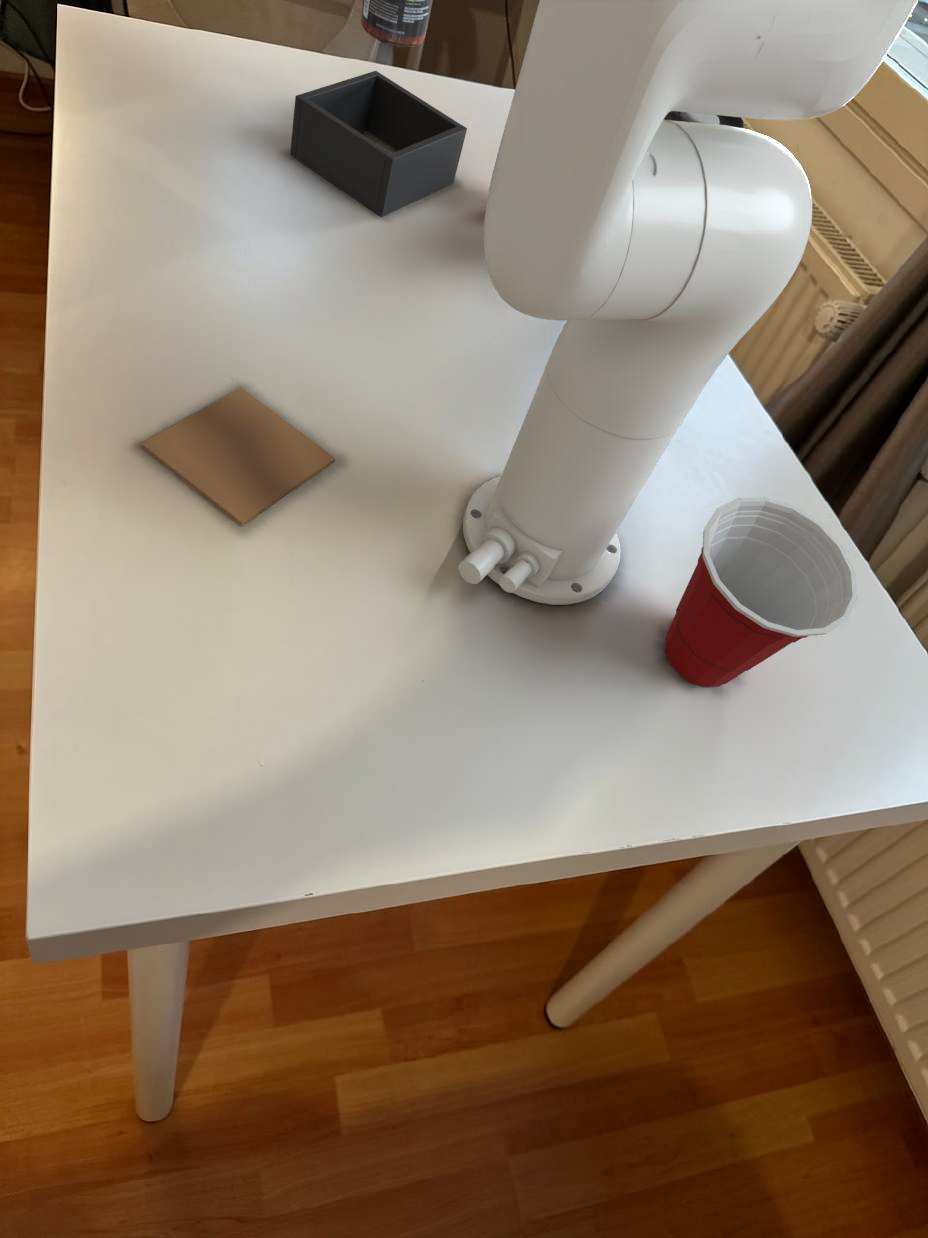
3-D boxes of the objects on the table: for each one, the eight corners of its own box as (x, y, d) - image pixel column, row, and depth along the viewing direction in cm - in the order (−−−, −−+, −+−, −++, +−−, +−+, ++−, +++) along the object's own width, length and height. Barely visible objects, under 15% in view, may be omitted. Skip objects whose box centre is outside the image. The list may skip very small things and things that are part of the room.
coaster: (241, 526, 62) (242, 522, 62) (141, 447, 64) (141, 443, 64) (335, 461, 68) (335, 457, 68) (240, 390, 70) (240, 386, 69)
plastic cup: (616, 681, 63) (692, 580, 53) (647, 578, 69) (720, 472, 60) (754, 745, 62) (856, 656, 53) (773, 635, 69) (866, 539, 60)
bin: (381, 216, 89) (392, 159, 84) (289, 154, 91) (295, 95, 87) (453, 182, 96) (467, 128, 92) (366, 126, 99) (375, 69, 94)
